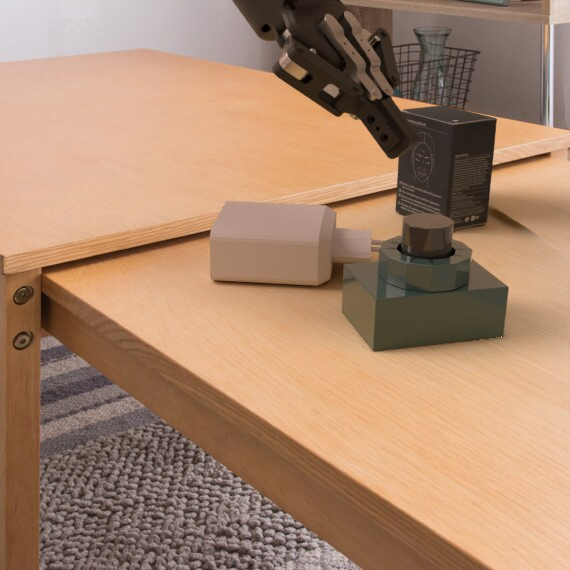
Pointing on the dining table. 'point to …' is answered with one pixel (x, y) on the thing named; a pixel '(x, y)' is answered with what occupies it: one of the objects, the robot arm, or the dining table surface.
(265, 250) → the charger
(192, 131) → the dining table surface
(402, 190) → the box
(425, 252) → the brown push button
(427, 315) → the base
